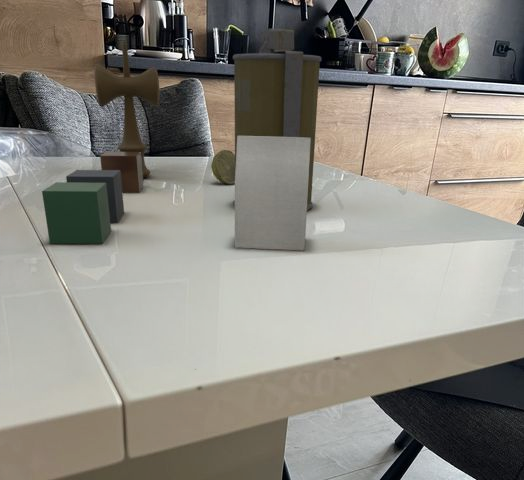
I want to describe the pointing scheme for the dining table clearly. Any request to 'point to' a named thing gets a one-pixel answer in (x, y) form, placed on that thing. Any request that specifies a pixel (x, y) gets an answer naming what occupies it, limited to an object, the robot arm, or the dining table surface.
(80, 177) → the slate block
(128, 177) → the walnut block
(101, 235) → the forest green block
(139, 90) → the kendama
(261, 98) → the canister
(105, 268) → the dining table surface
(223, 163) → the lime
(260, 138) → the light grey block
